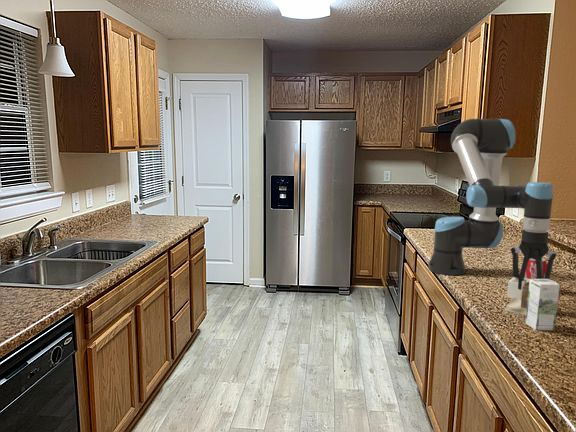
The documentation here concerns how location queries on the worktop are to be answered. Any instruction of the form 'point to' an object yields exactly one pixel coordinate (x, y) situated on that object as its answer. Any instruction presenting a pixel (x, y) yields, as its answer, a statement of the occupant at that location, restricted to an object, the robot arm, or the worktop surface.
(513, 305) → the lid
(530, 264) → the soda can
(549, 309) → the syrup box
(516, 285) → the dish
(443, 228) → the robot arm
